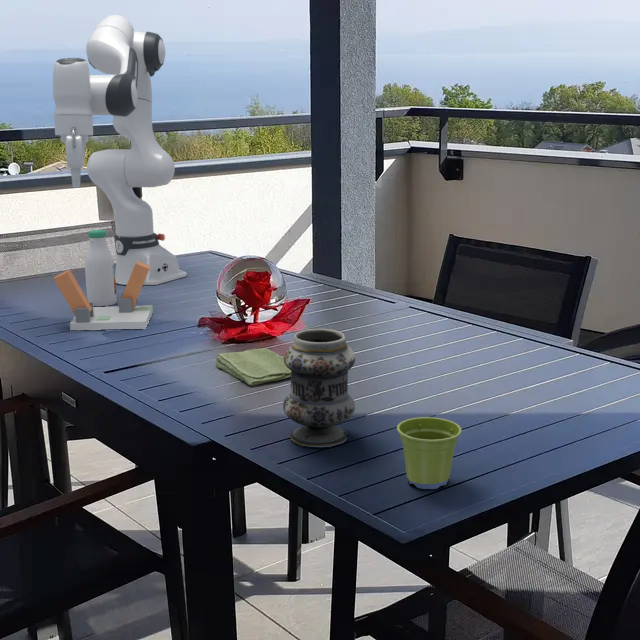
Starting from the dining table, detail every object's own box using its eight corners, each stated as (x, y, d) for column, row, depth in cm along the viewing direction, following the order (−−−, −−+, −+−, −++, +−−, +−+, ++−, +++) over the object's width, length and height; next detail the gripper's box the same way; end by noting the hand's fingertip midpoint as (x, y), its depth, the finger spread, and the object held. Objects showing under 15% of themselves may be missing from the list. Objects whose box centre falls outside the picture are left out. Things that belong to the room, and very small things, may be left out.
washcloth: (250, 390, 178) (249, 374, 177) (211, 367, 192) (211, 352, 191) (307, 378, 184) (307, 363, 184) (266, 357, 199) (265, 343, 198)
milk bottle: (113, 307, 242) (108, 233, 236) (84, 307, 242) (78, 233, 237) (120, 300, 249) (115, 228, 244) (92, 300, 249) (86, 228, 244)
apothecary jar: (359, 450, 148) (359, 343, 143) (285, 453, 147) (283, 346, 142) (350, 423, 159) (350, 324, 155) (282, 425, 158) (280, 326, 154)
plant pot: (396, 468, 141) (397, 415, 138) (457, 470, 140) (459, 417, 138) (395, 495, 132) (396, 439, 129) (461, 497, 131) (463, 441, 129)
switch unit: (82, 314, 234) (80, 294, 233) (152, 313, 235) (151, 292, 234) (70, 331, 219) (68, 309, 217) (145, 329, 220) (144, 307, 219)
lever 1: (80, 316, 224) (56, 275, 221) (93, 310, 224) (70, 268, 221) (77, 321, 220) (53, 279, 217) (90, 314, 220) (66, 272, 216)
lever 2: (120, 301, 233) (137, 260, 230) (133, 306, 233) (150, 265, 231) (118, 305, 229) (135, 263, 226) (131, 310, 229) (149, 269, 227)
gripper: (87, 127, 207) (90, 188, 210) (87, 128, 227) (90, 184, 229) (58, 127, 206) (61, 188, 208) (61, 128, 225) (64, 184, 228)
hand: (76, 186), depth 219 cm, fingers open, 8 cm apart
